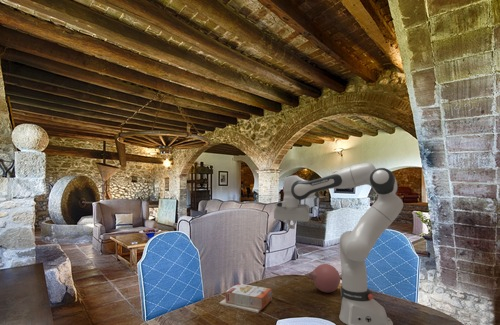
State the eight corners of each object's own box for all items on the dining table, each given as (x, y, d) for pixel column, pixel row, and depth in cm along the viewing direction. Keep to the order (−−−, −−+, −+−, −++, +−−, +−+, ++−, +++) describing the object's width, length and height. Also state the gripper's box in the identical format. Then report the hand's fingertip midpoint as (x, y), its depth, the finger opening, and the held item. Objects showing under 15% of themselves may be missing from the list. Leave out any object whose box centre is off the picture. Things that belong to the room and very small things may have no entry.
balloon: (303, 286, 170) (303, 260, 171) (337, 287, 168) (336, 261, 169) (306, 296, 154) (306, 267, 156) (343, 297, 153) (342, 268, 154)
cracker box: (262, 297, 136) (224, 291, 145) (262, 310, 136) (224, 303, 144) (271, 287, 149) (237, 282, 157) (272, 299, 148) (237, 293, 157)
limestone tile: (272, 299, 151) (272, 297, 151) (257, 312, 135) (257, 311, 135) (236, 292, 161) (236, 290, 161) (219, 304, 145) (219, 302, 145)
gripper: (310, 204, 156) (311, 229, 155) (276, 202, 165) (277, 226, 164) (307, 204, 150) (308, 230, 149) (272, 203, 159) (272, 228, 158)
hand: (291, 228), depth 157 cm, fingers closed
